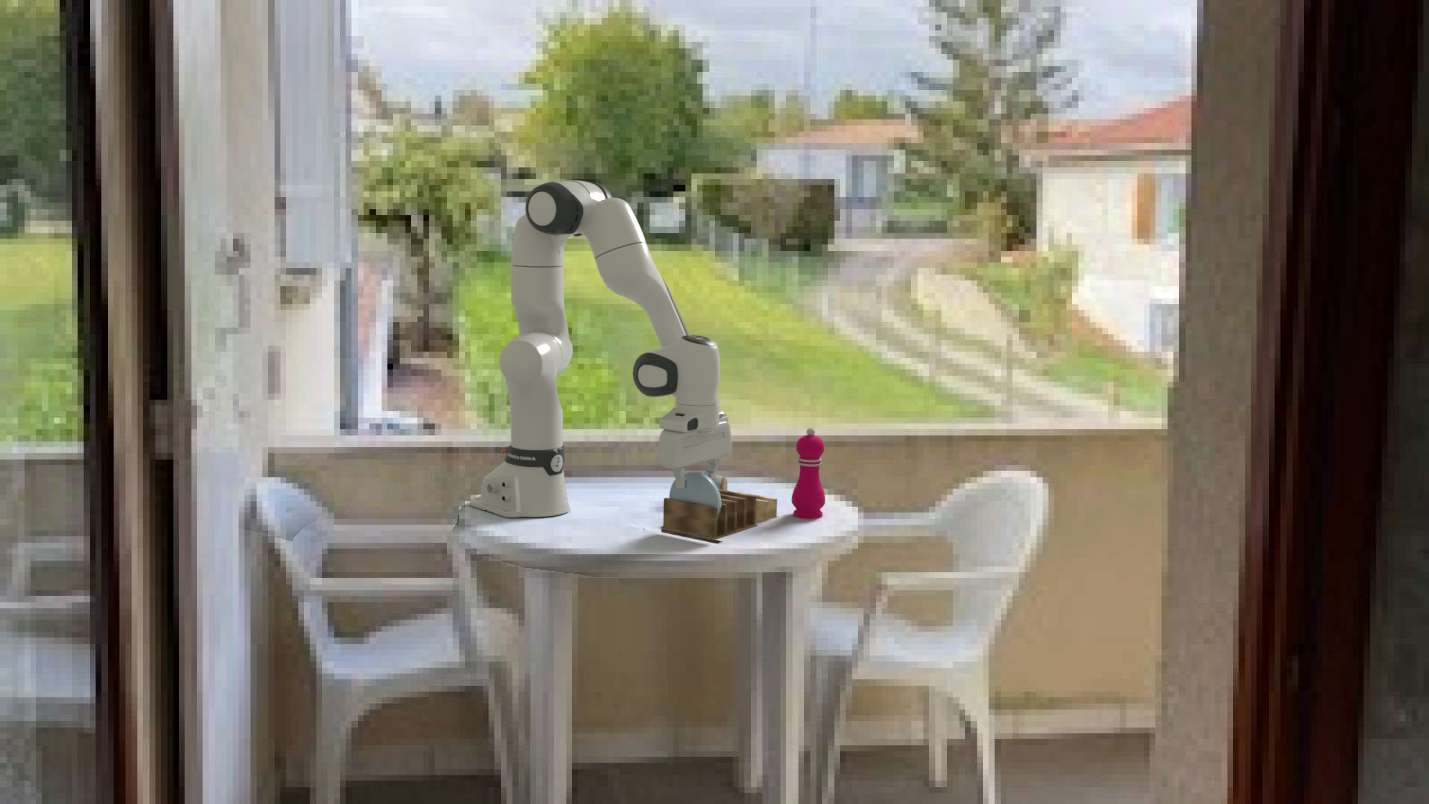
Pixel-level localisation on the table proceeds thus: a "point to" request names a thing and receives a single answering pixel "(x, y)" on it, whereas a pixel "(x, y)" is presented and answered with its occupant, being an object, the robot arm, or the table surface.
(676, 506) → the dish rack
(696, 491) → the plate
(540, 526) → the table surface
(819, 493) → the pepper mill
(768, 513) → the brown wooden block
